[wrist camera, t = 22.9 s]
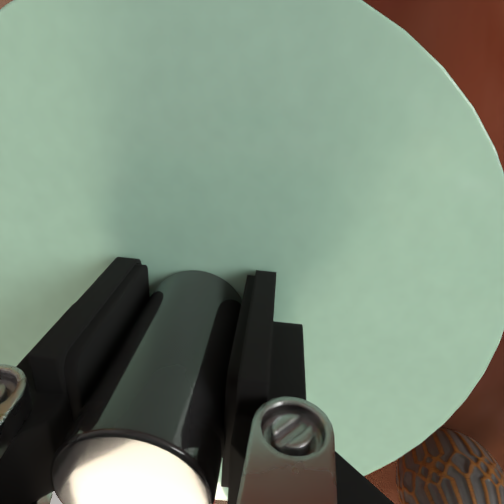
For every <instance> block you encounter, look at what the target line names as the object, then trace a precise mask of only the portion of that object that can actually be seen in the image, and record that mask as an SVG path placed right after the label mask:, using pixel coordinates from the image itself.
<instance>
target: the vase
mask: <svg viewBox="0 0 504 504" xmlns="http://www.w3.org/2000/svg"><path fill="white" fill-rule="evenodd" d="M396 484H397V491H398V496H399V500H400V504H504V472H503V471H502V469H501V467H500V466H499V464H498V463H497V462H496V460H495V459H494V458H493V457H492V455H491V454H490V453H489V452H488V451H487V450H486V449H485V448H484V447H483V446H482V445H480V444H479V443H478V442H477V441H475V440H474V439H472V438H471V437H469V436H467V435H465V434H463V433H460V432H458V431H454V430H451V429H446V428H438V429H437V430H436V431H435V432H434V433H432V434H431V435H430V436H429V437H428V438H427V439H425V440H424V441H423V442H422V443H421V444H419V445H418V446H416V447H415V448H413V449H412V450H410V451H409V452H407V453H406V454H404V455H403V456H401V457H400V458H398V462H397V469H396Z"/></svg>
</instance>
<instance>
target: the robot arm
mask: <svg viewBox="0 0 504 504" xmlns="http://www.w3.org/2000/svg"><path fill="white" fill-rule="evenodd" d="M276 273H277V272H270V271H260V270H256V273H255V275H247V279H246V283H245V288H244V293H243V298H242V303H241V308H240V312H239V317H238V322H237V327H236V332H235V337H234V342H233V346H232V351H231V356H230V361H229V366H228V372H227V379H226V390H225V412H224V432H225V444H224V450H223V456H222V478H221V487H228V504H394V503H393V502H392V501H390V500H389V499H388V498H387V497H386V496H385V495H384V494H383V493H382V492H380V491H379V490H378V489H377V488H376V487H375V486H374V485H373V484H372V483H370V482H369V481H368V480H367V479H366V478H365V477H364V476H363V475H362V474H360V473H359V472H358V471H357V470H356V469H355V468H354V467H353V466H352V465H350V464H349V463H348V462H347V461H346V460H345V459H344V458H343V457H342V456H340V455H339V454H338V453H337V452H336V451H335V439H334V431H333V427H332V423H331V422H330V420H329V418H328V417H327V415H326V414H325V413H324V412H323V411H322V410H321V409H320V408H319V407H318V406H316V405H314V404H313V403H311V402H309V401H307V400H306V382H305V361H304V340H303V325H302V324H295V323H285V322H275V321H273V318H274V303H275V288H276ZM149 297H150V295H149V277H148V267H147V265H142V263H141V260H140V259H135V258H125V257H117V258H115V260H114V261H113V262H112V263H111V264H110V265H109V266H108V267H107V268H106V269H105V271H104V272H103V273H102V274H101V275H100V276H99V277H98V278H97V279H96V281H95V282H94V283H93V284H92V285H91V286H90V287H89V288H88V289H87V290H86V292H85V293H84V294H83V295H82V296H81V297H80V298H79V299H78V300H77V301H76V302H75V303H74V304H73V305H72V306H71V307H70V308H69V309H68V310H67V311H66V312H65V313H64V314H63V316H62V317H61V318H60V319H59V320H58V321H57V322H56V323H55V324H54V325H53V327H52V328H51V329H50V330H49V331H48V332H47V333H46V334H45V335H44V336H43V337H42V339H41V340H40V341H39V342H38V343H37V344H36V345H35V346H34V347H33V348H32V350H31V351H30V352H29V353H28V354H27V355H26V356H25V357H24V358H23V359H22V361H21V362H20V363H19V364H18V365H17V366H16V367H15V366H11V365H6V364H1V365H0V504H50V500H51V498H52V492H53V491H54V489H53V486H52V483H51V477H50V469H51V463H52V459H53V456H54V454H55V452H56V451H57V449H58V447H59V446H60V444H61V442H62V441H63V439H64V437H65V436H66V434H67V432H68V431H69V429H70V428H71V426H72V424H73V423H74V421H75V419H76V418H77V416H78V414H79V413H80V411H81V409H82V408H83V406H84V404H85V403H86V401H87V400H88V398H89V396H90V395H91V393H92V391H93V390H94V388H95V386H96V385H97V383H98V381H99V380H100V378H101V376H102V375H103V373H104V372H105V370H106V368H107V367H108V365H109V363H110V362H111V360H112V358H113V357H114V355H115V353H116V352H117V350H118V348H119V347H120V345H121V343H122V342H123V340H124V339H125V337H126V335H127V334H128V332H129V330H130V329H131V327H132V325H133V324H134V322H135V320H136V319H137V317H138V315H139V314H140V312H141V311H142V309H143V307H144V306H145V304H146V302H147V301H148V299H149Z"/></svg>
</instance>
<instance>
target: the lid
mask: <svg viewBox="0 0 504 504" xmlns="http://www.w3.org/2000/svg"><path fill="white" fill-rule="evenodd" d="M117 257H125V258H135V259H140V260H141V263H142V265H147V267H148V277H149V295H150V297H149V299H148V301H147V302H146V304H145V306H144V307H143V309H142V311H141V312H140V314H139V315H138V317H137V319H136V320H135V322H134V324H133V325H132V327H131V329H130V330H129V332H128V334H127V335H126V337H125V339H124V340H123V342H122V343H121V345H120V347H119V348H118V350H117V352H116V353H115V355H114V357H113V358H112V360H111V362H110V363H109V365H108V367H107V368H106V370H105V372H104V373H103V375H102V376H101V378H100V380H99V381H98V383H97V385H96V386H95V388H94V390H93V391H92V393H91V395H90V396H89V398H88V400H87V401H86V403H85V404H84V406H83V408H82V409H81V411H80V413H79V414H78V416H77V418H76V419H75V421H74V423H73V424H72V426H71V428H70V429H69V431H68V432H67V434H66V436H65V437H64V439H63V441H62V442H61V444H60V446H59V447H58V449H57V451H56V452H55V454H54V456H53V459H52V463H51V469H50V477H51V483H52V486H53V489H54V491H55V493H56V495H57V496H58V498H59V499H60V501H61V502H62V503H63V504H214V503H215V500H225V501H228V487H221V478H222V456H223V450H224V444H225V432H224V412H225V390H226V379H227V372H228V366H229V361H230V356H231V351H232V346H233V342H234V337H235V332H236V327H237V322H238V317H239V312H240V308H241V303H242V298H243V293H244V288H245V283H246V279H247V275H255V273H256V270H260V271H270V272H277V273H276V288H275V303H274V318H273V321H275V322H285V323H295V324H302V325H303V340H304V361H305V382H306V400H307V401H309V402H311V403H313V404H314V405H316V406H318V407H319V408H320V409H321V410H322V411H323V412H324V413H325V414H326V415H327V417H328V418H329V420H330V422H331V423H332V427H333V431H334V439H335V451H336V452H337V453H338V454H339V455H340V456H342V457H343V458H344V459H345V460H346V461H347V462H348V463H349V464H350V465H352V466H353V467H354V468H355V469H356V470H357V471H358V472H359V473H360V474H362V475H363V476H365V475H368V474H370V473H372V472H374V471H376V470H378V469H380V468H382V467H384V466H385V465H387V464H389V463H391V462H393V461H395V460H397V459H398V458H400V457H401V456H403V455H404V454H406V453H407V452H409V451H410V450H412V449H413V448H415V447H416V446H418V445H419V444H421V443H422V442H423V441H424V440H425V439H427V438H428V437H429V436H430V435H431V434H432V433H434V432H435V431H436V430H437V429H438V428H439V427H441V426H442V425H443V424H444V423H445V422H446V421H447V420H448V419H449V418H450V417H451V416H452V414H453V413H454V412H455V411H456V410H457V409H458V408H459V407H460V406H461V405H462V403H463V402H464V401H465V400H466V399H467V397H468V396H469V394H470V393H471V392H472V390H473V389H474V387H475V386H476V384H477V383H478V381H479V380H480V379H481V377H482V376H483V374H484V373H485V371H486V369H487V367H488V365H489V363H490V361H491V359H492V357H493V355H494V353H495V351H496V349H497V347H498V345H499V343H500V340H501V337H502V334H503V331H504V172H503V169H502V166H501V163H500V160H499V157H498V154H497V151H496V148H495V146H494V145H493V143H492V141H491V139H490V137H489V135H488V133H487V131H486V129H485V127H484V126H483V124H482V122H481V120H480V118H479V116H478V114H477V112H476V110H475V109H474V107H473V105H472V104H471V103H470V101H469V100H468V99H467V97H466V96H465V95H464V93H463V92H462V91H461V89H460V88H459V87H458V85H457V84H456V83H455V81H454V80H453V79H452V77H451V76H450V75H449V74H448V72H447V71H446V70H445V68H444V67H443V66H442V65H441V64H440V63H439V62H438V61H437V60H436V59H435V58H434V57H433V56H432V55H431V54H430V53H429V52H428V51H427V50H425V49H424V48H423V47H422V46H421V45H420V44H419V43H418V42H417V41H416V40H415V39H414V38H413V37H412V36H411V35H410V34H409V33H408V32H407V31H406V30H404V29H403V28H401V27H400V26H399V25H397V24H396V23H394V22H393V21H391V20H390V19H389V18H387V17H386V16H384V15H383V14H381V13H380V12H379V11H377V10H376V9H374V8H373V7H371V6H370V5H368V4H367V3H366V2H364V1H363V0H13V1H11V2H10V3H8V4H6V5H5V6H4V7H3V8H2V9H0V365H1V364H6V365H11V366H15V367H16V366H17V365H18V364H19V363H20V362H21V361H22V359H23V358H24V357H25V356H26V355H27V354H28V353H29V352H30V351H31V350H32V348H33V347H34V346H35V345H36V344H37V343H38V342H39V341H40V340H41V339H42V337H43V336H44V335H45V334H46V333H47V332H48V331H49V330H50V329H51V328H52V327H53V325H54V324H55V323H56V322H57V321H58V320H59V319H60V318H61V317H62V316H63V314H64V313H65V312H66V311H67V310H68V309H69V308H70V307H71V306H72V305H73V304H74V303H75V302H76V301H77V300H78V299H79V298H80V297H81V296H82V295H83V294H84V293H85V292H86V290H87V289H88V288H89V287H90V286H91V285H92V284H93V283H94V282H95V281H96V279H97V278H98V277H99V276H100V275H101V274H102V273H103V272H104V271H105V269H106V268H107V267H108V266H109V265H110V264H111V263H112V262H113V261H114V260H115V258H117Z"/></svg>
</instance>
